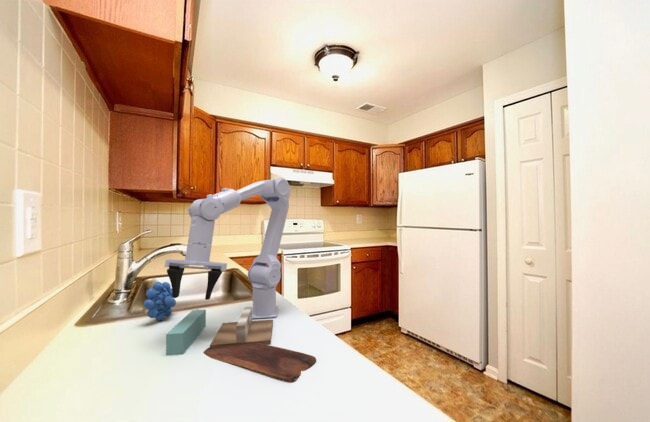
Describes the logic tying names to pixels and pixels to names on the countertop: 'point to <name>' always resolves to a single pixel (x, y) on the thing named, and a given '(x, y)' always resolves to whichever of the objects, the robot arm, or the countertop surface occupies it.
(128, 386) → the countertop surface
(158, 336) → the countertop surface
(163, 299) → the grapes
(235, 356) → the wooden tablet
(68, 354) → the countertop surface
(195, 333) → the teal rectangular bar
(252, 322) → the ridge
